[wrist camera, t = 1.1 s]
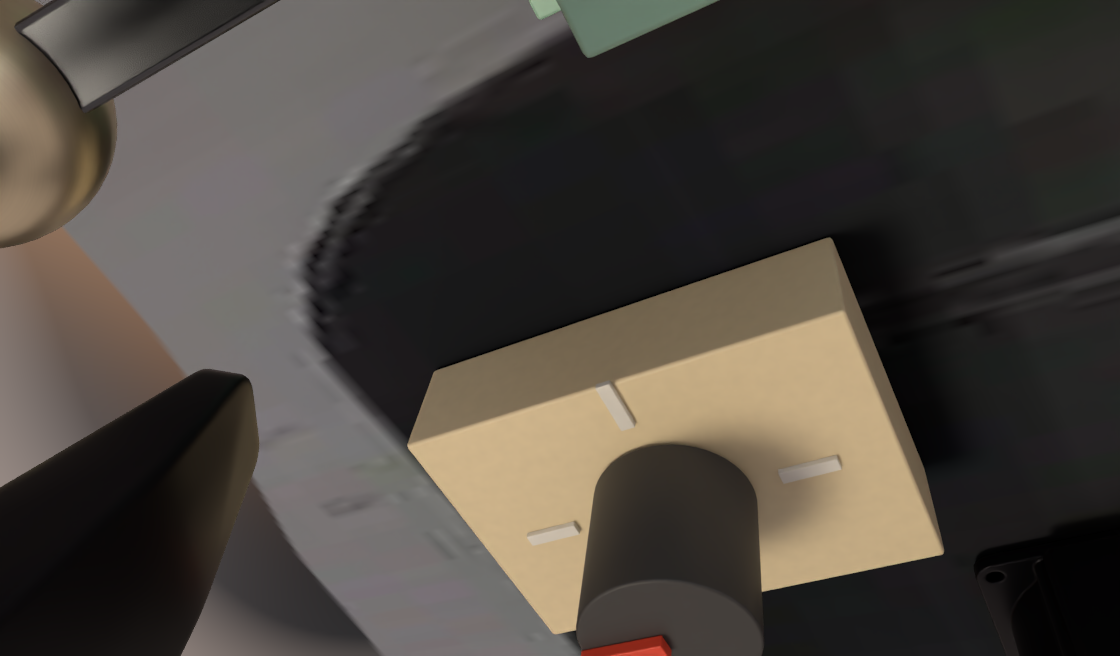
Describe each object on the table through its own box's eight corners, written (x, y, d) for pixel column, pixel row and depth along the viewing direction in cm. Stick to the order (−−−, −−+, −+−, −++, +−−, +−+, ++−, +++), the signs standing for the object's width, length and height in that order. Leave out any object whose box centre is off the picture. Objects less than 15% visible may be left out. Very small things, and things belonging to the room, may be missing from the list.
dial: (720, 424, 22) (722, 575, 18) (780, 536, 24) (792, 692, 20) (566, 467, 23) (540, 614, 20) (634, 569, 25) (622, 719, 22)
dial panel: (829, 230, 22) (844, 311, 19) (925, 470, 26) (948, 563, 23) (431, 367, 26) (401, 448, 23) (567, 556, 30) (554, 642, 27)
